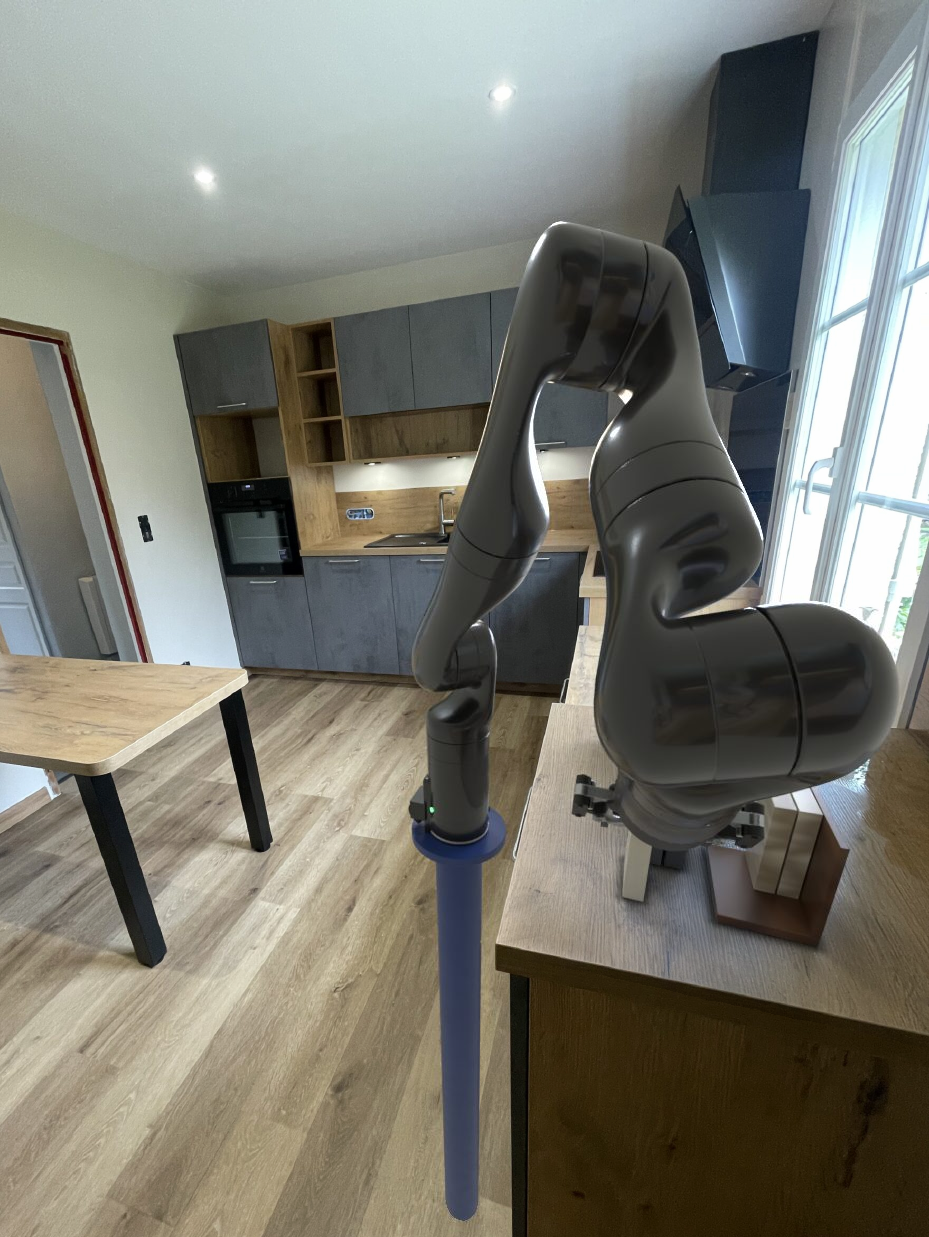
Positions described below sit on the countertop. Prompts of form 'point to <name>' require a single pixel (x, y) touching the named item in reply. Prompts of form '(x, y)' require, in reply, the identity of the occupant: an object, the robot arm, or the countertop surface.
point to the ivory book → (635, 868)
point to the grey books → (667, 857)
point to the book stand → (782, 871)
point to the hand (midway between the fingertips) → (652, 825)
